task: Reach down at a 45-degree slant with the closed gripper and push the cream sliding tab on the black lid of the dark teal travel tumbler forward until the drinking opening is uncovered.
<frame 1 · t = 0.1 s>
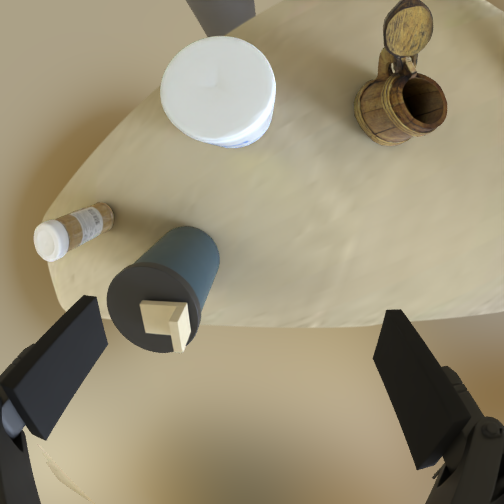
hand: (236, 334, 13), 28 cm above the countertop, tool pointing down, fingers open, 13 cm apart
sprinkles bottle: (103, 217, 40), on the countertop
tumbler: (187, 257, 41), on the countertop
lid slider: (161, 325, 25), point 17 cm above the countertop, slide at 0.0 cm
supplement tub: (235, 112, 35), on the countertop
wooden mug: (378, 97, 33), on the countertop
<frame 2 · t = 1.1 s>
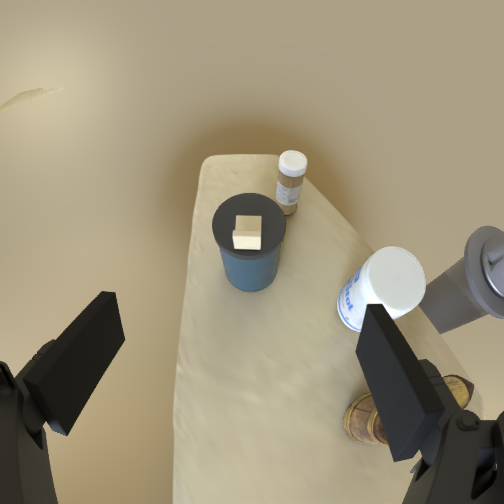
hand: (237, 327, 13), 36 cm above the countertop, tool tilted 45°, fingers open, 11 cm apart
sprinkles bottle: (285, 206, 58), on the countertop
tumbler: (251, 267, 53), on the countertop
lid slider: (247, 227, 36), point 17 cm above the countertop, slide at 0.0 cm
supplement tub: (361, 307, 49), on the countertop
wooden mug: (379, 411, 41), on the countertop
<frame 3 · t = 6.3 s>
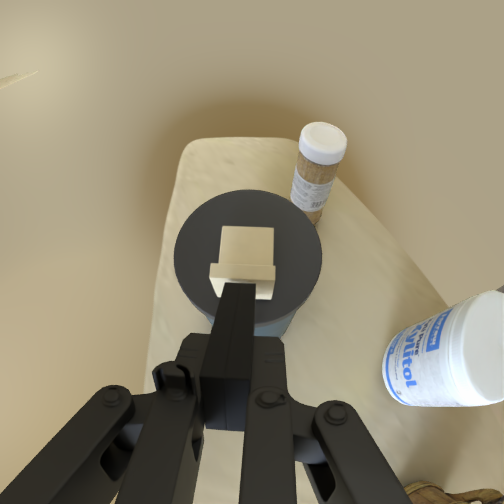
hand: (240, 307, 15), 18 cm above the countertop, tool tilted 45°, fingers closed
sprinkles bottle: (303, 213, 38), on the countertop
tumbler: (250, 309, 33), on the countertop
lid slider: (245, 252, 17), point 17 cm above the countertop, slide at 0.7 cm, touching gripper
supplement tub: (413, 367, 29), on the countertop
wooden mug: (422, 501, 21), on the countertop
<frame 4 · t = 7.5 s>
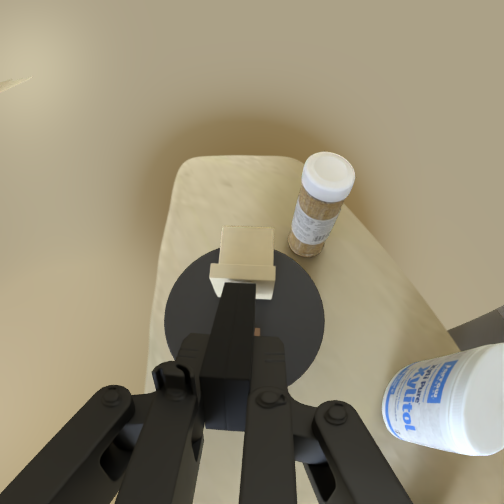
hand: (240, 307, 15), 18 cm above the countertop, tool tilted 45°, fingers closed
sprinkles bottle: (305, 242, 36), on the countertop
tumbler: (249, 347, 31), on the countertop
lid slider: (245, 252, 17), point 17 cm above the countertop, slide at 5.1 cm, touching gripper
supplement tub: (413, 402, 28), on the countertop
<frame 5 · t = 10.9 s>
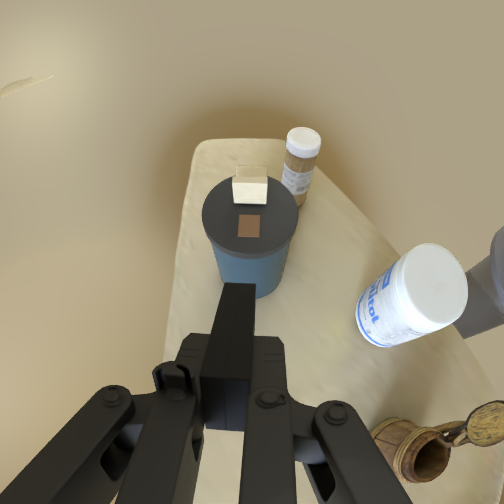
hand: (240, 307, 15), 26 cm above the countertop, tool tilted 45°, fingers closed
sprinkles bottle: (292, 197, 49), on the countertop
tumbler: (251, 268, 43), on the countertop
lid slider: (251, 176, 29), point 17 cm above the countertop, slide at 4.6 cm
supplement tub: (382, 317, 40), on the countertop
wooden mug: (401, 439, 32), on the countertop
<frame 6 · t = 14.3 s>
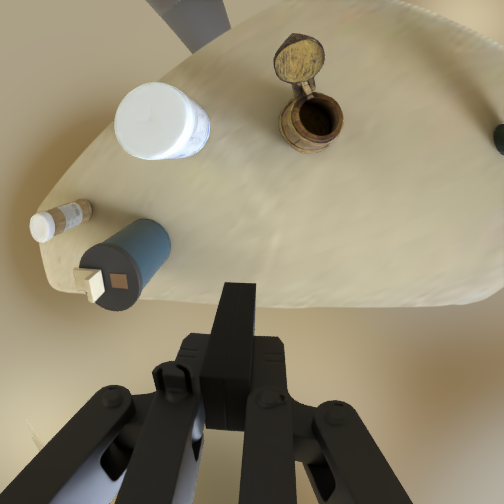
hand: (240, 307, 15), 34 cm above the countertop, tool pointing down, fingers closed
sprinkles bottle: (83, 210, 49), on the countertop
tumbler: (146, 243, 51), on the countertop
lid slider: (84, 284, 34), point 17 cm above the countertop, slide at 4.6 cm
supplement tub: (182, 129, 44), on the countertop
potion bottle: (502, 140, 40), on the countertop
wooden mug: (302, 112, 42), on the countertop
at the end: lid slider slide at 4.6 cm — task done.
